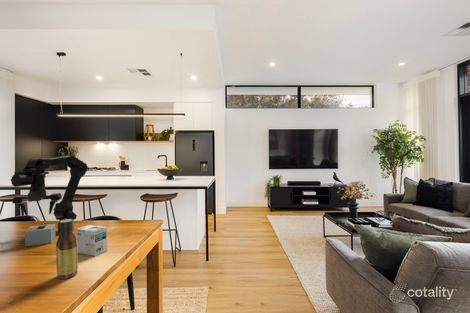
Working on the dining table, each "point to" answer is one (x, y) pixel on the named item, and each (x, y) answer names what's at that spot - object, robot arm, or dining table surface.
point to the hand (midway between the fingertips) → (38, 215)
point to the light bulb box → (91, 240)
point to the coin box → (40, 235)
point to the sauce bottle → (66, 250)
